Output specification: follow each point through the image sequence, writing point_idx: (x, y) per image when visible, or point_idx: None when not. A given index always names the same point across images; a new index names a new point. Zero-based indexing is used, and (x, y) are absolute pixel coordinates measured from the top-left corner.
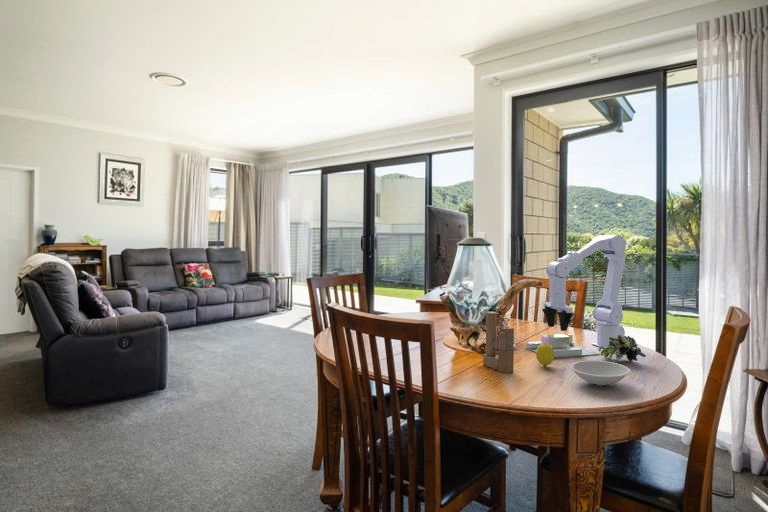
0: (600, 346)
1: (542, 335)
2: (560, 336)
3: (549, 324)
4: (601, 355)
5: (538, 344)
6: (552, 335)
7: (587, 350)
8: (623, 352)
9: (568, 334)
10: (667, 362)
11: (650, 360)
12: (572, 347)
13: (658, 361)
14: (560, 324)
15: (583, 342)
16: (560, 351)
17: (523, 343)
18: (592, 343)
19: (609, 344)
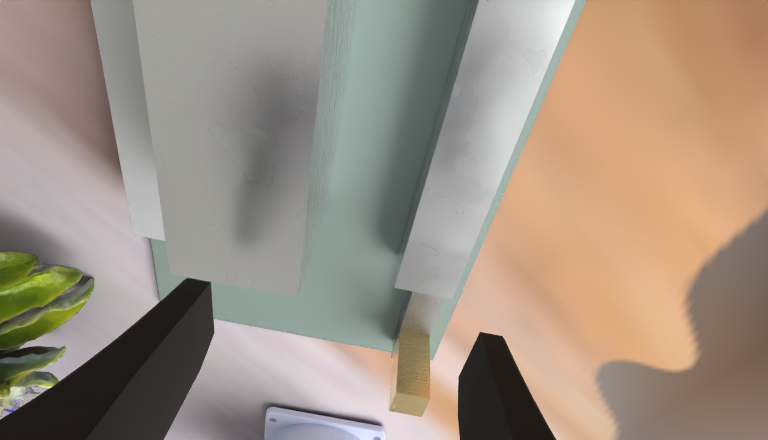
0: (309, 417)
1: (323, 6)
2: (191, 197)
3: (481, 364)
4: (71, 269)
5: (469, 29)
6: (274, 154)
7: (256, 315)
8: (1, 354)
9: (407, 394)
10: (7, 413)
11: (39, 394)
12: (359, 302)
13: (22, 402)
14: (146, 344)
15: (444, 429)
16: (95, 2)
17: (760, 81)
18: (375, 430)
19: (17, 368)
